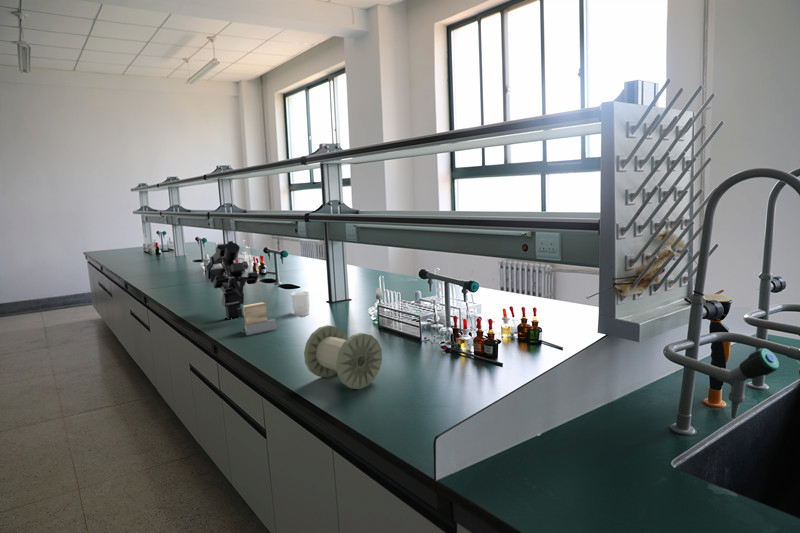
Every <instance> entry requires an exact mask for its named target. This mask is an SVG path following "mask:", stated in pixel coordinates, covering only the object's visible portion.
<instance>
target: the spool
mask: <svg viewBox="0 0 800 533" xmlns="http://www.w3.org/2000/svg"><path fill="white" fill-rule="evenodd" d="M303 351H304V352H303V357H304V363H305V365H306V367H307V370H308V371H309V372H310V373H312V374H313V375H314V376H317V377H319V378H329V377H331V376H335V375H337V376H338V379H339V380H340V382H341V383H342V384H343V385H345V387H347V388H350V389H353V390H354V389H356V390H361V389H363V388H365V387H368V386H369V385H371V383H373V382H374V380H375V379H376V377H377V376H378V374H379V372H380V370H381V366H382V361H383V354H382V352H383V351H382V348H381V345H380V343H379V341H378V339H377V338H375V337H374V336H373V335H372V334H367V333H363V332H359V333H355V334H352V335H351V336H349V337H347V335H346V333H345V332H344V331H343V330H342V329H341V328H340V327H337V326H335V325H334V326H333V325H328V324H327V325H324V326H320V327H318V328H316V329H315V331H313V332H312V333H311V334H310V335H309V338H308V339H307V340H306V343H305V347H304V350H303Z"/></svg>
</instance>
